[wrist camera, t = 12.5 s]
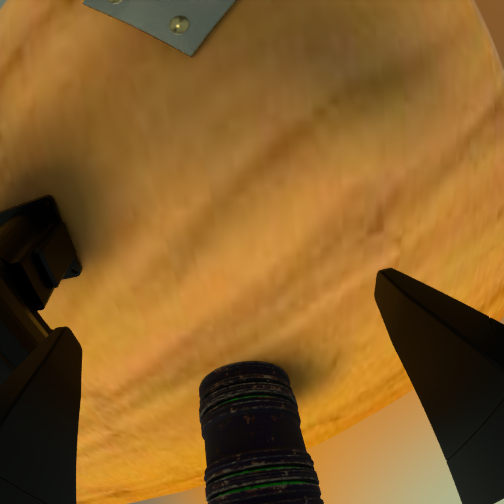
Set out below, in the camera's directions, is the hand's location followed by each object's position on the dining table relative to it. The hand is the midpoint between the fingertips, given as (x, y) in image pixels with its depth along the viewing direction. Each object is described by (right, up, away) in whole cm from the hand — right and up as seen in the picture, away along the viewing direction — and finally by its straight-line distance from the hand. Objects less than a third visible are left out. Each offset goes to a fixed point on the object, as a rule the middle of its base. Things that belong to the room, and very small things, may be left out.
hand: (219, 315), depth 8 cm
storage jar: (0, -13, +23) cm, 27 cm away
